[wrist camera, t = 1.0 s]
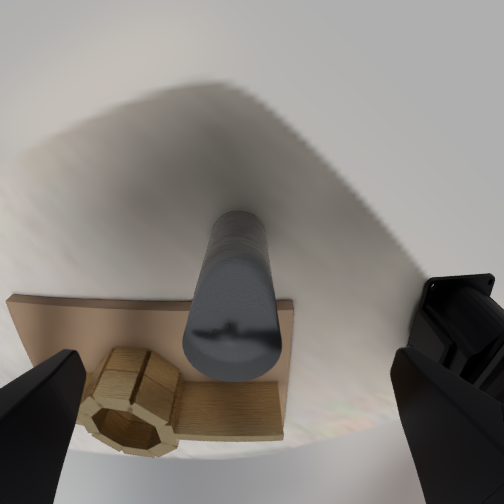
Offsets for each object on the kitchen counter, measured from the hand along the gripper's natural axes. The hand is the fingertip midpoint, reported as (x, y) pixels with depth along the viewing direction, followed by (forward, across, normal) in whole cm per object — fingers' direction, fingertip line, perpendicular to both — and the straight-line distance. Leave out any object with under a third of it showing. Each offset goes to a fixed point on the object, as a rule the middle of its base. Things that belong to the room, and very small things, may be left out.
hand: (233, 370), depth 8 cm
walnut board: (+10, +7, +10) cm, 16 cm away
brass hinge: (+9, +7, +10) cm, 15 cm away
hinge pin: (+10, 0, 0) cm, 10 cm away
